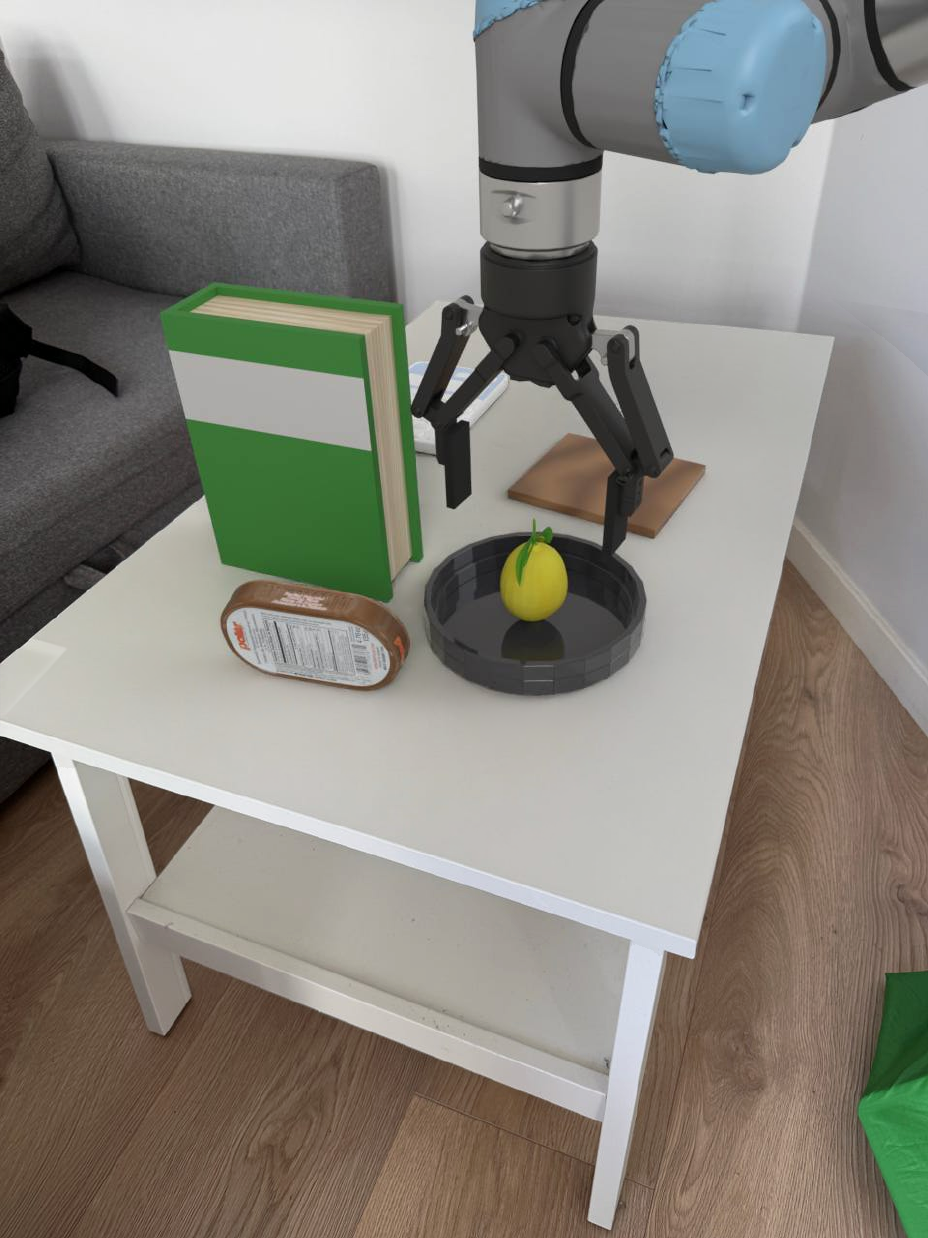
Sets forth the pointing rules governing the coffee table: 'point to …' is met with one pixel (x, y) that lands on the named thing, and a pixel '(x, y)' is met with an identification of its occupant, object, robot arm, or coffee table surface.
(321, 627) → the tin
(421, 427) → the calculator
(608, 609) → the pan
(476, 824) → the coffee table surface
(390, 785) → the coffee table surface
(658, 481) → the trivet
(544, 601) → the lemon
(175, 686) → the coffee table surface
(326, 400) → the hardback book
